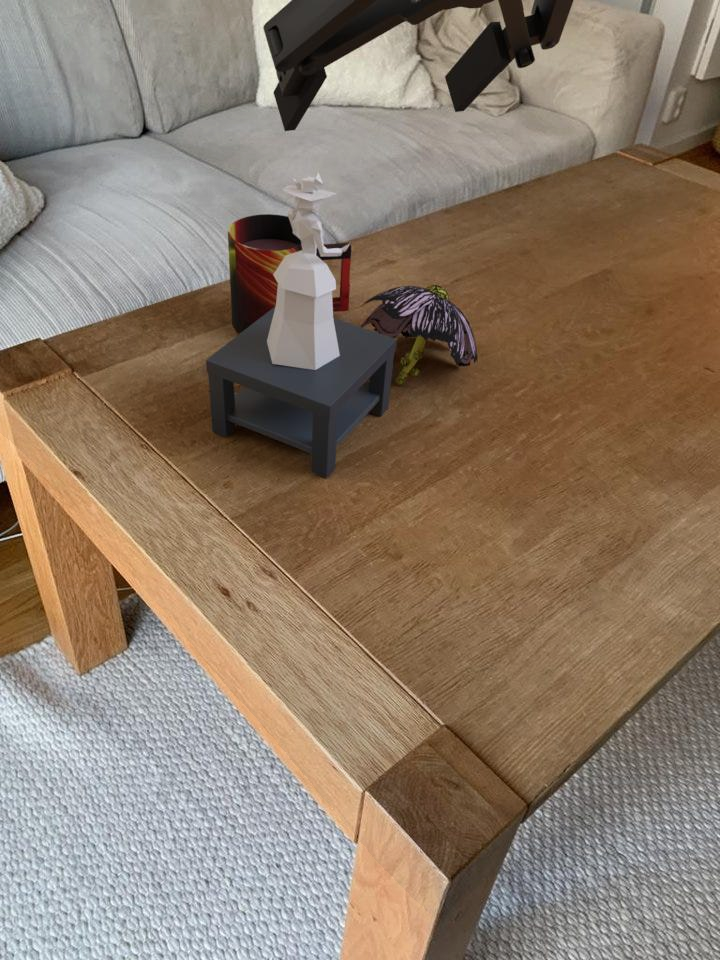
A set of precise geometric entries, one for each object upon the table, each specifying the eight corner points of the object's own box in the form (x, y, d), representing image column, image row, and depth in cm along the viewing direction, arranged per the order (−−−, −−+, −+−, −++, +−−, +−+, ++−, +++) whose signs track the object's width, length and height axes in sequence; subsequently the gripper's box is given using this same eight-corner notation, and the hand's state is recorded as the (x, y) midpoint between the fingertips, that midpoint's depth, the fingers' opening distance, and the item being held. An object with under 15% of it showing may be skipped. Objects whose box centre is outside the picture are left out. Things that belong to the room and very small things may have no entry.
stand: (210, 432, 86) (205, 359, 80) (282, 369, 95) (282, 300, 89) (326, 479, 81) (330, 406, 75) (389, 408, 91) (397, 338, 85)
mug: (350, 318, 105) (356, 229, 97) (261, 351, 98) (259, 258, 90) (304, 287, 110) (306, 200, 102) (217, 317, 103) (211, 226, 95)
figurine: (353, 346, 83) (365, 169, 71) (301, 379, 78) (304, 195, 66) (301, 321, 86) (304, 147, 74) (247, 352, 81) (241, 171, 69)
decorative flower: (522, 300, 91) (417, 290, 82) (500, 402, 94) (397, 401, 86) (440, 279, 102) (340, 268, 93) (423, 370, 106) (325, 367, 97)
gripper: (329, -55, 33) (220, 175, 53) (758, -63, 43) (530, 134, 62) (277, -234, 33) (186, 63, 53) (718, -202, 43) (502, 40, 62)
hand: (372, 102), depth 58 cm, fingers open, 13 cm apart
